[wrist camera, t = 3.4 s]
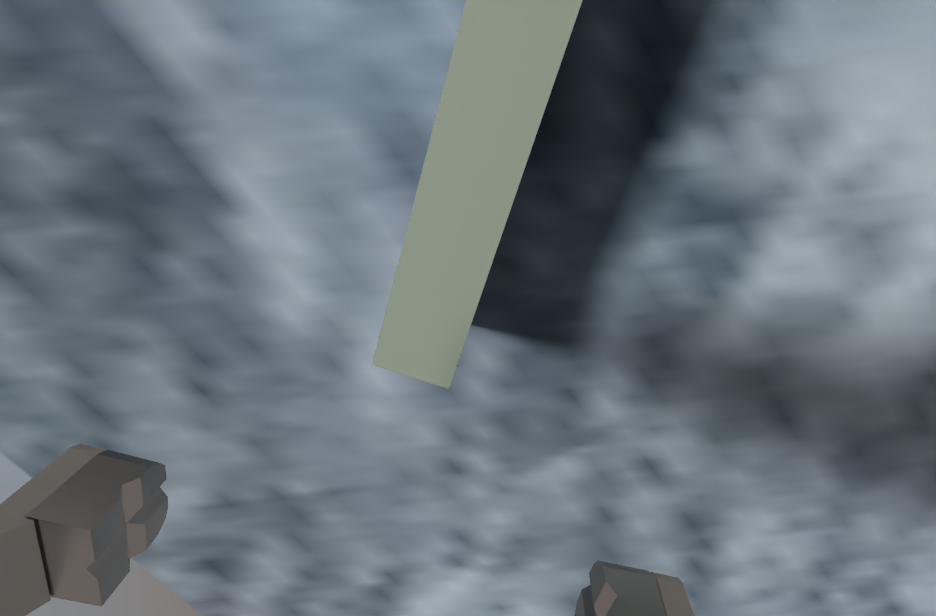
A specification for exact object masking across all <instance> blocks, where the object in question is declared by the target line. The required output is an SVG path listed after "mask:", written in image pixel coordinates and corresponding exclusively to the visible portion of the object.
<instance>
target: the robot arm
mask: <svg viewBox="0 0 936 616" xmlns="http://www.w3.org/2000/svg"><path fill="white" fill-rule="evenodd" d="M166 479H167V478H166V470H165V465H163V464H161V463H158V462H154V461H150V460H146V459H142V458H138V457H134V456H130V455H126V454H122V453H118V452H114V451H110V450H105V449H101V448H97V447H93V446H89V445H85V444H79V445H76V446H73V447H70V448H69V449H68V450H66V451H65V452H64V453H63V454H61V455H60V456H59V457H58V458H57V459H55V460H54V461H53V462H52V463H50V464H49V465H48V466H47V467H45V468H44V469H43V470H42V471H41V472H39V473H38V474H37V475H36V476H34V477H33V478H32V479H31V480H30V481H28V482H27V483H26V484H25V485H23V486H22V487H21V488H20V489H19V490H17V491H16V492H15V493H14V494H12V495H11V496H10V497H9V498H8V499H6V500H5V501H4V502H3V503H1V504H0V616H25V615H27V614H29V613H30V612H32V611H34V610H35V609H37V608H38V607H40V606H42V605H43V604H45V603H46V602H48V601H50V599H51V598H50V597H55V598H60V599H66V600H70V601H76V602H81V603H86V604H92V605H97V606H102V605H103V604H104V603H105V601H106V600H107V599H108V598H109V597H110V595H111V594H112V593H113V592H114V590H115V589H116V588H117V587H118V585H119V584H120V583H121V581H122V580H123V579H124V578H125V576H126V575H127V574H128V573H129V571H130V558H131V557H133V556H135V555H137V554H139V553H141V552H143V551H145V550H147V549H148V547H149V546H150V545H151V543H152V542H153V541H154V539H155V538H156V537H157V535H158V533H159V531H160V529H161V527H162V525H163V523H164V521H165V519H166V514H167V509H168V497H167V495H166V494H165V493H164V492H163V490H162V489H161V488H160V486H161V485H162V483H163V482H164V481H165V480H166ZM589 576H590V583H591V585H589V586H587V587H586V588H584V589H582V590H581V593H580V595H579V598H578V600H577V604H576V610H575V616H694V614H693V611H692V608H691V605H690V602H689V600H688V597H687V594H686V591H685V588H684V585H683V583H682V582H681V580H680V579H679V578H677V577H672V576H668V575H663V574H659V573H654V572H649V571H646V570H642V569H637V568H632V567H627V566H623V565H618V564H613V563H608V562H604V561H599V560H598V561H597V562H596V563H594V564H593V566H592V568H591V571H590V573H589Z"/></svg>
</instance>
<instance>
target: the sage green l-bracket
mask: <svg viewBox="0 0 936 616" xmlns="http://www.w3.org/2000/svg"><path fill="white" fill-rule="evenodd" d="M581 3H582V0H466V3H465V6H464V10H463V14H462V18H461V22H460V26H459V30H458V34H457V37H456V41H455V45H454V49H453V53H452V57H451V61H450V65H449V68H448V72H447V76H446V80H445V84H444V88H443V92H442V96H441V99H440V103H439V107H438V111H437V115H436V119H435V123H434V127H433V130H432V134H431V138H430V142H429V146H428V150H427V154H426V158H425V161H424V165H423V169H422V173H421V177H420V181H419V185H418V189H417V192H416V196H415V200H414V204H413V208H412V212H411V216H410V220H409V223H408V227H407V231H406V235H405V239H404V243H403V247H402V251H401V255H400V258H399V262H398V266H397V270H396V274H395V278H394V282H393V286H392V289H391V293H390V297H389V301H388V305H387V309H386V313H385V317H384V320H383V324H382V328H381V332H380V336H379V340H378V344H377V348H376V351H375V355H374V359H373V363H372V365H374V366H377V367H381V368H384V369H387V370H390V371H393V372H396V373H400V374H403V375H406V376H409V377H412V378H416V379H419V380H422V381H425V382H428V383H432V384H435V385H438V386H441V387H444V388H448V389H449V387H450V384H451V381H452V379H453V376H454V373H455V370H456V367H457V364H458V361H459V358H460V355H461V352H462V349H463V347H464V344H465V341H466V338H467V335H468V332H469V329H470V326H471V323H472V320H473V317H474V315H475V312H476V309H477V306H478V303H479V300H480V297H481V294H482V291H483V288H484V285H485V283H486V280H487V277H488V274H489V271H490V268H491V265H492V262H493V259H494V256H495V253H496V251H497V248H498V245H499V242H500V239H501V236H502V233H503V230H504V227H505V224H506V221H507V219H508V216H509V213H510V210H511V207H512V204H513V201H514V198H515V195H516V192H517V189H518V187H519V184H520V181H521V178H522V175H523V172H524V169H525V166H526V163H527V160H528V157H529V155H530V152H531V149H532V146H533V143H534V140H535V137H536V134H537V131H538V128H539V125H540V123H541V120H542V117H543V114H544V111H545V108H546V105H547V102H548V99H549V96H550V93H551V91H552V88H553V85H554V82H555V79H556V76H557V73H558V70H559V67H560V64H561V61H562V59H563V56H564V53H565V50H566V47H567V44H568V41H569V38H570V35H571V32H572V29H573V27H574V24H575V21H576V18H577V15H578V12H579V9H580V6H581Z"/></svg>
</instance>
